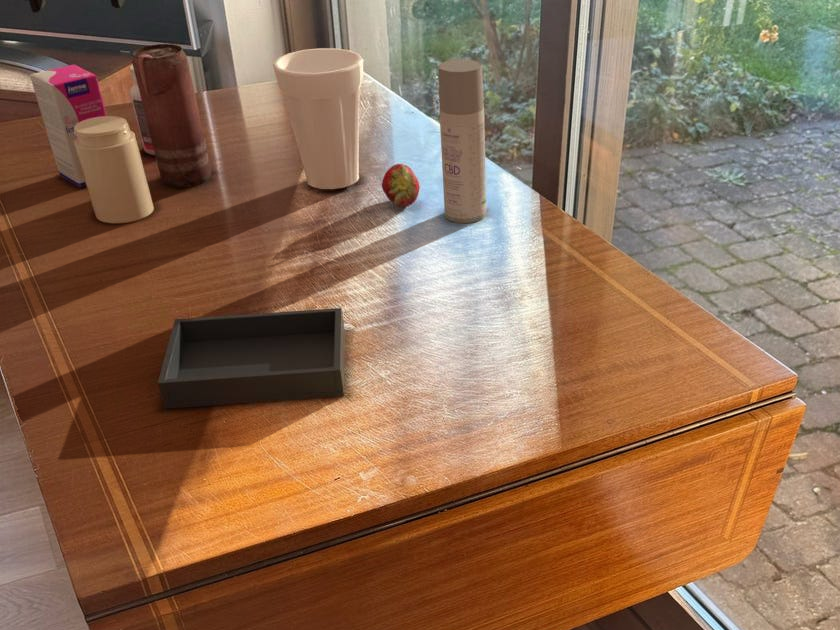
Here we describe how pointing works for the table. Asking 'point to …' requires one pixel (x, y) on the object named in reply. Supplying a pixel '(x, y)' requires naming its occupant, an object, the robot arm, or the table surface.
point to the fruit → (401, 185)
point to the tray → (254, 358)
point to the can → (172, 114)
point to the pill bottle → (140, 115)
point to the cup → (324, 112)
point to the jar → (112, 169)
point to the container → (462, 140)
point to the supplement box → (67, 112)
